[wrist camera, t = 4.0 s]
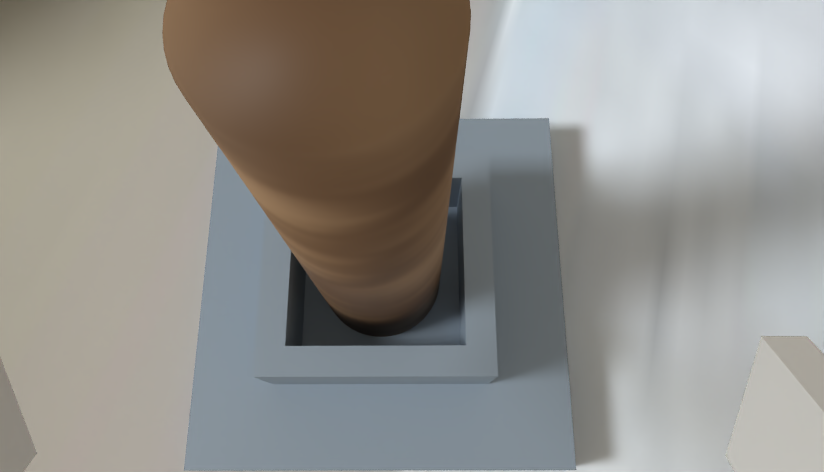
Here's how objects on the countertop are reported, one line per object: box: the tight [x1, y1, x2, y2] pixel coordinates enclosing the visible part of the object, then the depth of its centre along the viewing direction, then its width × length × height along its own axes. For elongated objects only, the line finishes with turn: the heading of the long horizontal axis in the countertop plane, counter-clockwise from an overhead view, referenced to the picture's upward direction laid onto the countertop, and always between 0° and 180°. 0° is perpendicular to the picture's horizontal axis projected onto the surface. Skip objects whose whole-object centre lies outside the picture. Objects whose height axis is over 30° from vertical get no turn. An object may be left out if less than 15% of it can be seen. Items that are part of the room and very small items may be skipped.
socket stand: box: [184, 118, 576, 470], centre depth 24 cm, size 14×14×4 cm
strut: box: [163, 0, 471, 337], centre depth 17 cm, size 4×4×16 cm
